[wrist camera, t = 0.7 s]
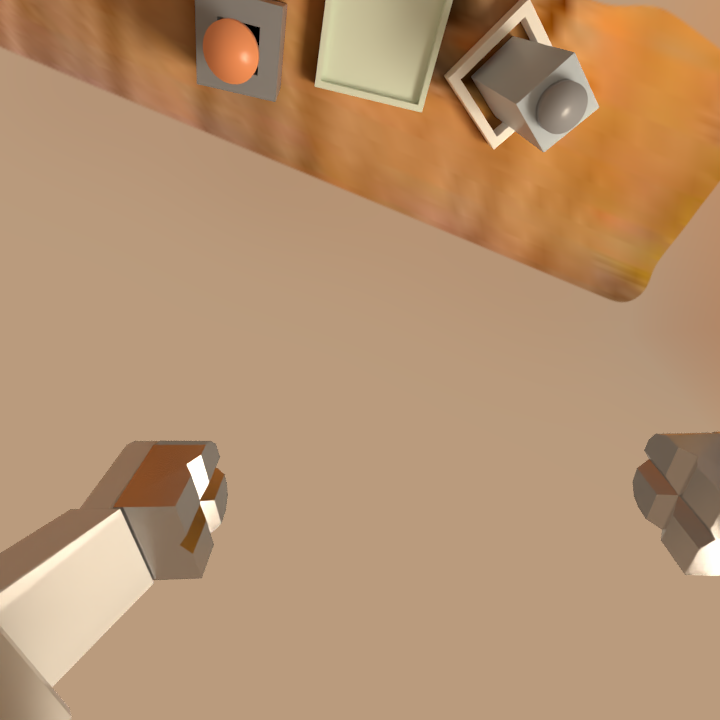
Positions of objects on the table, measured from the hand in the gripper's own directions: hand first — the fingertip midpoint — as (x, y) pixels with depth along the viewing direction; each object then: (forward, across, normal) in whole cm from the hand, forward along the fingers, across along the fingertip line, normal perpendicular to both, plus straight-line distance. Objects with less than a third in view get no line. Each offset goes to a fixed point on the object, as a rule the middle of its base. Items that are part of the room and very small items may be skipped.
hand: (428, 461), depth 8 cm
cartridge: (+41, -12, -8) cm, 44 cm away
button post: (+38, +11, -12) cm, 42 cm away
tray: (+39, 0, -12) cm, 41 cm away
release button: (+35, +11, -11) cm, 38 cm away
